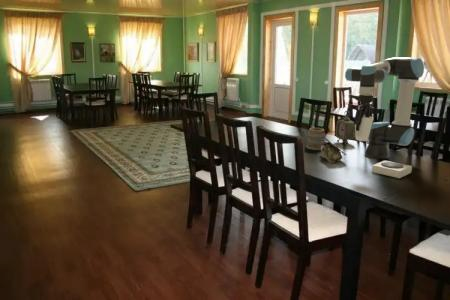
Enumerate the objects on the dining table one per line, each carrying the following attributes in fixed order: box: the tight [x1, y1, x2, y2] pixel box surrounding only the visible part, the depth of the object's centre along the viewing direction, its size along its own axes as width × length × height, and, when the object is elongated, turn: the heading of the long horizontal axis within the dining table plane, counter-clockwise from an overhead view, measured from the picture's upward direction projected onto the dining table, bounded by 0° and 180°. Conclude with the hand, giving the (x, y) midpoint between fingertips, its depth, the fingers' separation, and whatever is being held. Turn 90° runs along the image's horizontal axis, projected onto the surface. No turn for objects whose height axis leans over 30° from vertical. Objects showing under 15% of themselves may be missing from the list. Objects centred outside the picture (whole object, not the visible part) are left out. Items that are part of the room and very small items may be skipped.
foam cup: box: [355, 114, 374, 142], centre depth 215 cm, size 10×9×13 cm
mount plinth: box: [371, 160, 413, 179], centre depth 225 cm, size 16×16×4 cm
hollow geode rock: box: [320, 137, 348, 164], centre depth 253 cm, size 28×13×15 cm
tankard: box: [305, 124, 326, 151], centre depth 285 cm, size 20×13×15 cm, turn 179°
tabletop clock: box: [335, 110, 356, 146], centre depth 297 cm, size 14×9×25 cm, turn 14°
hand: (362, 135), depth 216 cm, fingers closed on foam cup, 9 cm apart
